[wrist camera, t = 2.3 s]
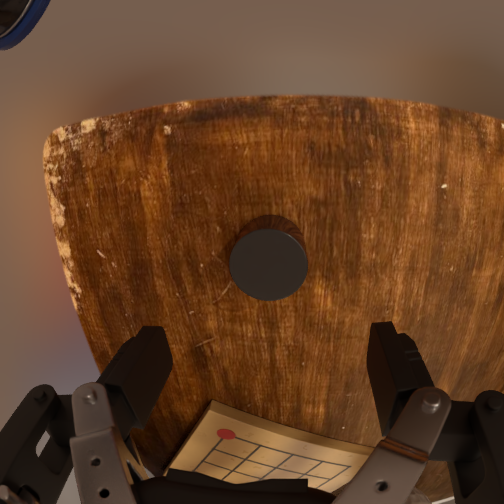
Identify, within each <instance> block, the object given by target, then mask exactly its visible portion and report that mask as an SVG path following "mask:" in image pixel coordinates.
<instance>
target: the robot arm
mask: <svg viewBox="0 0 504 504" xmlns="http://www.w3.org/2000/svg"><path fill="white" fill-rule="evenodd" d="M34 1H35V0H0V39H1V38H4V37H6V36H7V35H9V34H10V33H11V32H12V31H13V30H14V29H15V28H16V27H17V26H18V25H19V24H20V23H21V22H22V20H23V19H24V18H25V16H26V15H27V13H28V12H29V10H30V8H31V7H32V5H33V3H34ZM172 365H173V359H172V354H171V351H170V348H169V344H168V341H167V338H166V334H165V331H164V329H163V327H161V326H143V327H142V328H141V330H140V331H139V332H138V334H137V335H136V337H132V338H130V339H129V340H128V341H126V342H125V343H124V344H123V345H122V346H121V348H120V349H119V350H118V352H117V354H115V356H114V357H113V360H111V361H110V363H109V364H108V366H107V367H106V368H105V370H104V371H103V373H102V374H101V376H100V377H99V379H98V380H97V381H96V382H90V383H86V384H83V385H81V386H80V387H78V388H77V389H76V390H75V391H74V393H73V395H57V393H56V391H55V390H54V388H53V387H52V386H50V385H47V384H43V385H39V386H36V387H34V388H33V389H32V390H31V391H30V392H29V393H28V394H27V395H26V397H25V398H24V399H23V401H22V402H21V403H20V405H19V406H18V408H17V409H16V410H15V412H14V413H13V414H12V416H11V417H10V419H9V420H8V422H7V423H6V424H5V426H4V427H3V429H2V430H1V432H0V504H56V503H57V500H58V498H59V496H60V494H61V491H62V489H63V487H64V485H65V483H66V481H67V479H68V477H69V475H70V473H71V470H72V468H73V467H74V472H75V477H76V482H77V487H78V492H79V496H80V500H81V504H404V503H405V501H406V499H407V498H408V496H409V495H410V493H411V491H412V490H413V488H414V486H415V484H416V483H417V481H418V479H419V477H420V475H421V474H422V472H423V470H424V468H425V466H426V464H427V462H428V460H433V461H447V463H448V468H449V472H450V477H451V482H452V487H453V492H454V498H455V503H456V504H504V394H502V393H500V392H498V391H494V390H488V391H484V392H482V393H480V394H479V395H478V396H477V398H476V399H475V401H474V402H464V401H453V400H451V399H450V397H449V396H448V394H447V393H446V392H444V391H443V390H441V389H439V388H436V387H435V386H434V384H433V381H432V379H431V377H430V375H429V372H428V370H427V368H426V366H425V363H424V361H423V360H422V357H421V355H420V353H419V352H418V348H417V346H416V344H415V342H414V341H413V340H412V339H411V338H410V337H409V336H408V335H406V334H405V333H401V334H397V332H396V330H395V327H394V325H393V323H392V322H391V321H389V322H377V323H372V324H371V328H370V336H369V344H368V351H367V370H368V375H369V379H370V383H371V387H372V391H373V396H374V400H375V405H376V409H377V414H378V418H379V423H380V428H381V433H382V437H383V436H386V438H385V439H384V440H381V441H380V442H379V443H378V444H377V446H376V447H375V449H374V450H373V451H372V453H371V454H370V456H369V457H368V458H367V460H366V461H365V463H364V464H363V465H362V467H361V468H360V469H359V471H358V472H357V473H356V474H355V476H354V477H353V478H352V480H351V481H350V482H349V483H348V484H347V486H346V487H345V488H344V489H343V491H342V492H341V493H340V494H339V495H338V497H337V496H335V495H333V494H331V493H329V492H326V491H324V490H320V489H317V488H313V487H308V478H302V479H266V480H261V481H254V482H247V483H240V484H232V483H229V482H225V481H222V480H219V479H216V478H214V477H211V476H208V475H205V474H202V473H199V472H192V471H185V470H179V469H174V468H169V469H168V471H167V474H166V476H160V477H153V478H149V477H148V476H147V474H146V472H145V470H144V467H143V465H142V462H141V460H140V457H139V454H138V452H137V449H136V446H135V443H134V441H133V438H132V435H131V434H130V431H131V429H132V427H135V428H139V429H144V427H145V425H146V423H147V421H148V419H149V417H150V414H151V412H152V410H153V408H154V406H155V404H156V402H157V400H158V397H159V395H160V393H161V391H162V389H163V387H164V385H165V383H166V381H167V379H168V377H169V374H170V372H171V370H172ZM45 430H46V431H47V433H48V434H49V435H50V439H49V440H48V442H47V444H46V445H45V447H44V449H43V450H42V452H41V454H40V456H39V458H38V456H37V454H36V446H37V444H38V442H39V440H40V439H41V437H42V435H43V434H44V432H45Z"/></svg>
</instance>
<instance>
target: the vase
mask: <svg viewBox="0 0 504 504" xmlns="http://www.w3.org/2000/svg"><path fill="white" fill-rule="evenodd" d="M404 504H432V503H431V502H430V500H429V498H428V497H427V496H426V495H425V494H424V493H423V492H422V491H420V490H419V489H418V488H416V487H414V488H413V490H412V491H411V493H410V495H409V496H408V498H407V499H406V501H405V503H404Z"/></svg>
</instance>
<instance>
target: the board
mask: <svg viewBox="0 0 504 504" xmlns="http://www.w3.org/2000/svg"><path fill="white" fill-rule="evenodd" d="M374 449H375V448H373V447H368V446H363V445H358V444H353V443H349V442H344V441H340V440H336V439H332V438H328V437H324V436H320V435H316V434H312V433H309V432H305V431H302V430H298V429H295V428H291V427H288V426H285V425H281V424H278V423H275V422H272V421H269V420H266V419H263V418H260V417H257V416H254V415H251V414H249V413H246V412H243V411H240V410H238V409H235V408H232V407H230V406H227V405H224V404H222V403H219V402H217V401H214V400H212V401H211V402H210V404H209V405H208V407H207V408H206V410H205V411H204V413H203V414H202V416H201V417H200V419H199V420H198V422H197V423H196V425H195V426H194V428H193V429H192V431H191V432H190V434H189V435H188V437H187V438H186V440H185V441H184V443H183V444H182V446H181V447H180V449H179V450H178V452H177V453H176V455H175V456H174V457H173V459H172V460H171V462H170V463H169V465H168V466H167V468H166V469H165V470H164V473H163V476H166V474H167V471H168V469H169V468H174V469H179V470H185V471H192V472H199V473H202V474H205V475H208V476H211V477H214V478H216V479H219V480H222V481H225V482H229V483H232V484H240V483H247V482H254V481H261V480H266V479H302V478H308V487H313V488H317V489H320V490H324V491H326V492H329V493H331V492H332V491H334V490H336V489H338V488H339V487H341V486H343V485H344V484H346V483H347V482H349V481H351V480H352V478H353V477H354V476H355V474H356V473H357V472H358V471H359V469H360V468H361V467H362V465H363V464H364V463H365V461H366V460H367V458H368V457H369V456H370V454H371V453H372V451H373V450H374Z"/></svg>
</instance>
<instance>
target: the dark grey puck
mask: <svg viewBox="0 0 504 504" xmlns="http://www.w3.org/2000/svg"><path fill="white" fill-rule="evenodd" d="M229 268H230V273H231V276H232V278H233V280H234V282H235V283H236V285H237V286H238V287H239V288H240V289H241V290H242V291H243V292H244V293H246V294H247V295H249V296H251V297H253V298H256V299H259V300H264V301H275V300H280V299H283V298H286V297H288V296H290V295H292V294H293V293H294V292H296V291H297V290H298V289H299V288H300V287H301V285H302V284H303V282H304V280H305V278H306V275H307V271H308V260H307V252H306V245H305V240H304V237H303V234H302V233H301V231H300V230H299V228H298V227H297V226H296V225H295V224H294V223H293V222H291V221H290V220H288V219H286V218H284V217H281V216H276V215H265V216H260V217H258V218H255V219H253V220H252V221H250V222H249V223H248V224H247V225H245V227H244V228H243V229H242V231H241V232H240V234H239V236H238V239H237V241H236V243H235V245H234V247H233V249H232V252H231V254H230V259H229Z"/></svg>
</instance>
